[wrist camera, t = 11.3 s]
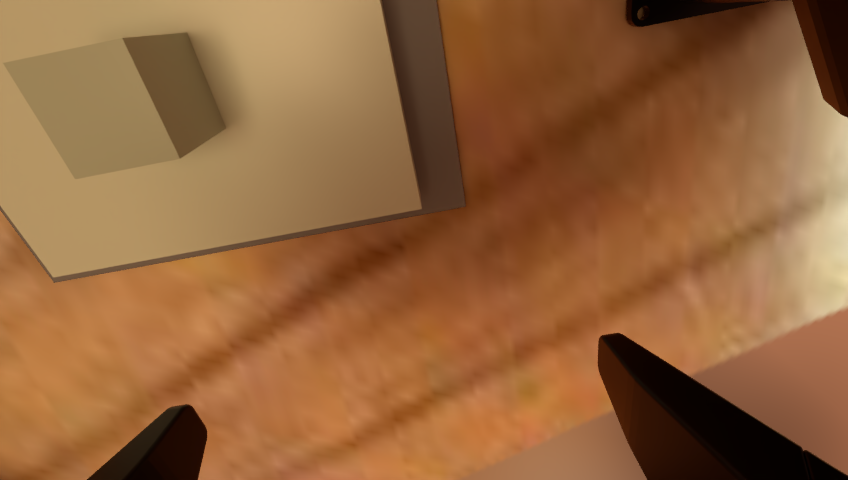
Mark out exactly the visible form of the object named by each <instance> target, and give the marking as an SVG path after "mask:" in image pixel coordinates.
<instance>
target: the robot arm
mask: <svg viewBox="0 0 848 480" xmlns="http://www.w3.org/2000/svg"><path fill="white" fill-rule="evenodd" d="M769 1H786V0H627V15H626V16H627V21H628V23H629V24H630V25H632V26H637V27H643V26H648V25H653V24H658V23H663V22H668V21H673V20H678V19H683V18H688V17H693V16H698V15H703V14H709V13H714V12H719V11H724V10H729V9H734V8H739V7H744V6H749V5H754V4H759V3H764V2H769ZM792 2H793V5H794V8H795V11H796V14H797V18H798V21H799V24H800V27H801V30H802V33H803V36H804V39H805V43H806V46H807V49H808V52H809V55H810V58H811V61H812V64H813V68H814V71H815V74H816V77H817V80H818V83H819V86H820V89H821V93H822V96H823V99H824V100H825V101H826V102H827V103H828V104H830V105H831V106H832V107H833V108H834V109H835V110H836V111H838V112H839V113H840V114H841V115H843V116H845V117H848V0H792ZM641 7H643V8H644V10H645V13H644V16H643V17H642V18H641V19H638V17H637V13H638V10H639V9H640V8H641ZM598 369H599V372H600V375H601V378H602V380H603V383H604V385H605V388H606V390H607V393H608V395H609V398H610V400H611V403H612V405H613V408H614V410H615V412H616V415H617V417H618V420H619V422H620V425H621V427H622V429H623V432H624V434H625V437H626V439H627V441H628V444H629V446H630V448H631V450H632V452H633V454H634V456H635V457H636V459H637V461H638V463H639V465H640V466H641V469H642V470H643V472H644V474H645V476H646V478H647V480H848V475H846V474H844V473H843V472H841V471H840V470H838V469H836V468H835V467H833V466H831V465H830V464H828V463H827V462H825V461H823V460H822V459H820V458H819V457H817V456H816V455H814V454H812V453H811V452H809V451H807V450H804V451H803V449H802V447H801V446H799V445H798V444H796V443H795V442H793V441H791V440H790V439H788V438H787V437H785V436H783V435H782V434H780V433H779V432H777V431H775V430H774V429H772V428H771V427H769V426H768V425H766V424H764V423H763V422H761V421H759V420H758V419H756V418H755V417H753V416H752V415H750V414H748V413H747V412H745V411H744V410H742V409H740V408H739V407H737V406H735V405H734V404H733V403H731V402H729V401H728V400H726V399H725V398H723V397H721V396H720V395H718V394H717V393H715V392H713V391H712V390H710V389H709V388H707V387H705V386H704V385H702V384H701V383H699V382H697V381H696V380H694V379H693V378H691V377H690V376H688V375H686V374H685V373H683V372H682V371H680V370H678V369H677V368H675V367H674V366H672V365H670V364H669V363H667V362H666V361H664V360H662V359H661V358H659V357H658V356H656V355H655V354H653V353H651V352H650V351H648V350H647V349H645V348H643V347H642V346H640V345H639V344H637V343H635V342H634V341H632V340H631V339H629V338H627V337H626V336H624V335H623V334H620V333H613V334H607V335H602V336H601V337H600V338H599V344H598ZM206 441H207V429H206V427H205V425H204V423H203V422H202V420H201V419H200V417H199V416H198V414H197V413H196V411H195V410H194V408H193V407H192V406H190V405H187V404H185V405H179V406H173V407H170V408H168V409H167V410H166V411H165V412H163V413H162V414H161V415H160V416H159V417H158V418H157V419H155V420H154V421H153V422H152V423H151V424H150V425H149V426H147V427H146V428H145V429H144V430H143V431H142V432H141V433H139V434H138V435H137V436H136V437H135V438H134V439H133V440H132V441H130V442H129V443H128V444H127V445H126V446H125V447H124V448H122V449H121V450H120V451H119V452H118V453H117V454H116V455H114V456H113V457H112V458H111V459H110V460H109V461H108V462H106V463H105V464H104V465H103V466H102V467H101V468H100V469H99V470H97V471H96V472H95V473H94V474H93V475H92V476H91V477H89V478H88V479H87V480H198V476H199V472H200V467H201V463H202V458H203V454H204V450H205V445H206Z"/></svg>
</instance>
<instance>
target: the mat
mask: <svg viewBox="0 0 848 480" xmlns="http://www.w3.org/2000/svg"><path fill="white" fill-rule="evenodd" d="M382 4H383V9H384V14H385V19H386V24H387V29H388V34H389V39H390V44H391V49H392V54H393V59H394V64H395V69H396V74H397V79H398V84H399V90H400V95H401V100H402V105H403V110H404V115H405V120H406V125H407V130H408V135H409V140H410V145H411V150H412V155H413V160H414V165H415V170H416V175H417V180H418V185H419V190H420V197H421V206H422V209H419V210H414V211H408V212H403V213H398V214H392V215H387V216H382V217H376V218H371V219H365V220H360V221H355V222H349V223H344V224H339V225H333V226H328V227H322V228H317V229H312V230H306V231H301V232H296V233H290V234H285V235H280V236H274V237H269V238H263V239H258V240H253V241H247V242H242V243H237V244H231V245H226V246H220V247H215V248H210V249H204V250H199V251H194V252H188V253H183V254H177V255H172V256H167V257H161V258H156V259H151V260H145V261H140V262H135V263H129V264H124V265H118V266H113V267H108V268H102V269H97V270H92V271H86V272H81V273H75V274H70V275H65V276H59V277H54V278H53V277H52V275H51V274H50V273H49V271H48V270H47V268H46V267H45V266H44V264H43V263H42V262H41V260H40V259H39V258H38V256H37V255H36V254H35V252H34V251H33V249H32V248H31V247H30V245H29V244H28V243H27V241H26V240H25V239H24V237H23V236H22V235H21V233H20V232H19V231H18V229H17V228H16V226H15V225H14V224H13V222H12V221H11V220H10V218H9V217H8V216H7V214H6V213H5V212H4V210H3V209H2V208H1V206H0V210H1V212H2V213H3V214H4V216H5V217H6V218H7V220H8V221H9V222H10V224H11V225H12V226H13V228H14V229H15V231H16V232H17V233H18V235H19V236H20V237H21V239H22V240H23V241H24V243H25V244H26V245H27V247H28V248H29V249H30V251H31V252H32V253H33V255H34V256H35V258H36V259H37V260H38V262H39V263H40V264H41V266H42V267H43V268H44V270H45V271H46V272H47V274H48V275H49V276H50V278H51V279H52V280H53V282H54V283H55V282H61V281H66V280H71V279H77V278H82V277H88V276H93V275H99V274H104V273H109V272H115V271H120V270H126V269H131V268H136V267H142V266H147V265H153V264H158V263H163V262H169V261H174V260H180V259H185V258H190V257H196V256H201V255H207V254H212V253H217V252H223V251H228V250H234V249H239V248H244V247H250V246H255V245H261V244H266V243H272V242H277V241H282V240H288V239H293V238H299V237H304V236H309V235H315V234H320V233H326V232H331V231H336V230H342V229H347V228H353V227H358V226H363V225H369V224H374V223H380V222H385V221H390V220H396V219H401V218H407V217H412V216H418V215H423V214H428V213H434V212H439V211H445V210H450V209H455V208H461V207H466V204H465V197H464V190H463V183H462V176H461V169H460V162H459V155H458V148H457V141H456V134H455V127H454V120H453V113H452V106H451V99H450V92H449V85H448V78H447V71H446V64H445V57H444V50H443V43H442V36H441V29H440V22H439V15H438V8H437V1H436V0H382Z"/></svg>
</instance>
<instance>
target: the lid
mask: <svg viewBox="0 0 848 480" xmlns="http://www.w3.org/2000/svg"><path fill="white" fill-rule="evenodd" d="M0 206H1V208H2V209H3V210H4V212H5V213H6V214H7V216H8V217H9V218H10V220H11V221H12V222H13V224H14V225H15V226H16V228H17V229H18V231H19V232H20V233H21V235H22V236H23V237H24V239H25V240H26V241H27V243H28V244H29V245H30V247H31V248H32V249H33V251H34V252H35V254H36V255H37V256H38V258H39V259H40V260H41V262H42V263H43V264H44V266H45V267H46V268H47V270H48V271H49V273H50V274H51V275H52V277H53V278H54V277H59V276H65V275H70V274H75V273H81V272H86V271H92V270H97V269H102V268H108V267H113V266H118V265H124V264H129V263H135V262H140V261H145V260H151V259H156V258H161V257H167V256H172V255H177V254H183V253H188V252H194V251H199V250H204V249H210V248H215V247H220V246H226V245H231V244H237V243H242V242H247V241H253V240H258V239H263V238H269V237H274V236H280V235H285V234H290V233H296V232H301V231H306V230H312V229H317V228H322V227H328V226H333V225H339V224H344V223H349V222H355V221H360V220H365V219H371V218H376V217H382V216H387V215H392V214H398V213H403V212H408V211H414V210H419V209H422V206H421V197H420V190H419V185H418V180H417V175H416V170H415V165H414V160H413V155H412V150H411V145H410V140H409V135H408V130H407V125H406V120H405V115H404V110H403V105H402V100H401V95H400V90H399V84H398V79H397V74H396V69H395V64H394V59H393V54H392V49H391V44H390V39H389V34H388V29H387V24H386V19H385V14H384V9H383V4H382V0H0Z"/></svg>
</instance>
